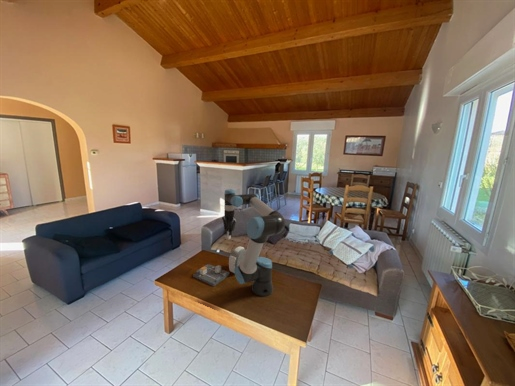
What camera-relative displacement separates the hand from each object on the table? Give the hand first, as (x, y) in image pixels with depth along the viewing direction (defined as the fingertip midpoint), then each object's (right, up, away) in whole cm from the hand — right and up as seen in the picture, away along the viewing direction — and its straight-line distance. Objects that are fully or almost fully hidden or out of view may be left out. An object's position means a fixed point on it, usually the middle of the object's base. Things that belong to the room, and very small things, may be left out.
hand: (229, 238), depth 170 cm
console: (-13, -29, -1) cm, 32 cm away
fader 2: (-9, -26, 0) cm, 27 cm away
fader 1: (-19, -26, -2) cm, 33 cm away
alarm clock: (+7, -28, +8) cm, 30 cm away
